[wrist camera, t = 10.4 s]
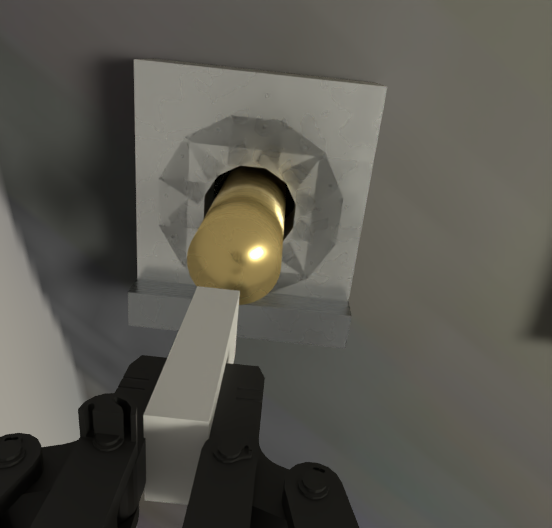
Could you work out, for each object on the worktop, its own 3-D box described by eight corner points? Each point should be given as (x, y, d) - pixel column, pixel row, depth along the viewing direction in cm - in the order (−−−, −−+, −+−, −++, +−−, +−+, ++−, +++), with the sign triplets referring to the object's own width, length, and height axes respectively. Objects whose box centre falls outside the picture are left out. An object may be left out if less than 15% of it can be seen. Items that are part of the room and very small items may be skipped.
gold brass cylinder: (282, 227, 34) (276, 309, 23) (221, 220, 34) (185, 299, 23) (289, 166, 33) (286, 223, 22) (224, 159, 33) (188, 213, 22)
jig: (337, 306, 37) (344, 351, 31) (153, 286, 37) (128, 328, 31) (376, 82, 30) (393, 89, 25) (153, 58, 30) (121, 59, 25)
